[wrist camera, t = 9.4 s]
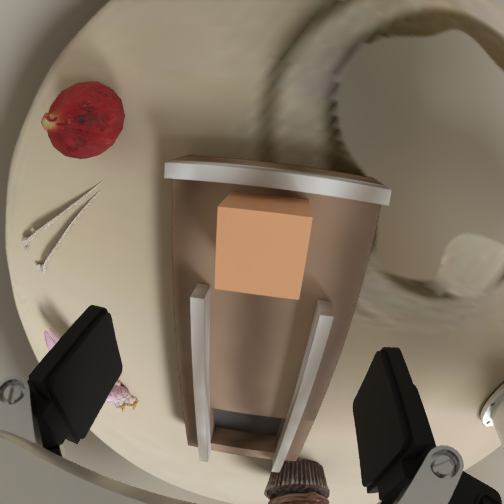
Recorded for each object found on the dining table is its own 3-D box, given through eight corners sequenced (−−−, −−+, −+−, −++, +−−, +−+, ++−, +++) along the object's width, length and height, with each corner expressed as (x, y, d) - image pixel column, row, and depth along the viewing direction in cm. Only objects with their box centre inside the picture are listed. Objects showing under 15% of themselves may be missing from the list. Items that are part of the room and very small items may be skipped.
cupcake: (304, 450, 35) (301, 511, 26) (339, 469, 37) (341, 522, 28) (254, 466, 39) (246, 519, 30) (292, 484, 41) (288, 532, 32)
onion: (147, 86, 20) (87, 75, 13) (136, 156, 22) (75, 173, 15) (90, 85, 20) (25, 81, 13) (81, 148, 23) (17, 164, 15)
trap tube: (373, 177, 21) (394, 191, 16) (296, 443, 35) (295, 473, 30) (187, 155, 22) (161, 163, 17) (193, 428, 36) (184, 456, 31)
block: (308, 200, 19) (312, 217, 16) (298, 269, 21) (298, 299, 18) (231, 191, 20) (217, 206, 16) (227, 260, 22) (214, 288, 18)
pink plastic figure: (149, 389, 36) (65, 312, 29) (138, 427, 30) (41, 350, 24) (121, 395, 37) (43, 326, 31) (109, 429, 32) (22, 359, 26)
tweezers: (46, 272, 29) (36, 279, 27) (25, 239, 28) (15, 244, 26) (148, 183, 25) (138, 186, 23) (121, 140, 24) (110, 141, 22)
